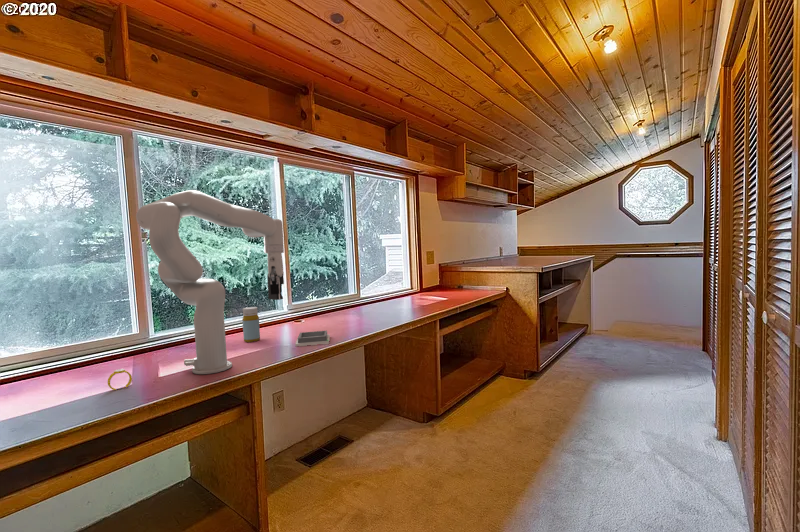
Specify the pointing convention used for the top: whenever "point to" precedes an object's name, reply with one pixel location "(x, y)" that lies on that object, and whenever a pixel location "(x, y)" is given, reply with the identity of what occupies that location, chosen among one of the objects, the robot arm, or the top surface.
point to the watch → (117, 373)
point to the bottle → (250, 324)
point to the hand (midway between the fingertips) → (276, 293)
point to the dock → (312, 338)
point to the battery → (280, 282)
